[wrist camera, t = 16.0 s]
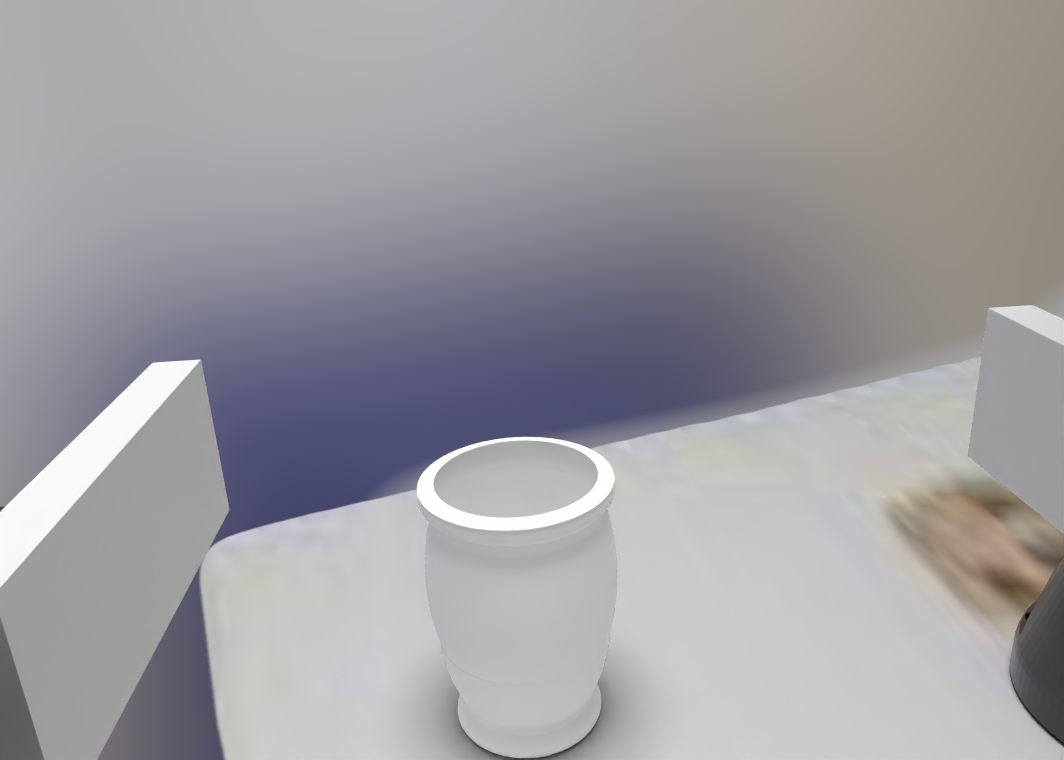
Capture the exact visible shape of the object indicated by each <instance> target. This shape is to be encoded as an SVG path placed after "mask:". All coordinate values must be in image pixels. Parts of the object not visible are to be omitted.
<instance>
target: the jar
mask: <svg viewBox="0 0 1064 760" xmlns="http://www.w3.org/2000/svg"><path fill="white" fill-rule="evenodd" d="M614 492H615V481H614V472H613V469H612V467H611V465H610V464H609V463H608V461H607V460H606V459H605V458H603V457H602V456H601V455H600V454H598V453H596V452H595V451H593V450H591V449H589V448H587V447H584V446H582V445H579V444H576V443H572V442H568V441H564V440H558V439H550V438H540V437H515V438H504V439H496V440H490V441H485V442H481V443H476V444H473V445H469V446H466V447H463V448H461V449H458V450H455V451H453V452H451V453H449V454H447V455H445V456H443V457H442V458H440V459H438V460H437V461H435V462H434V463H433V464H431V465H430V466H429V467H428V468H427V469H426V470H425V471H424V473H423V474H422V475H421V477H420V479H419V481H418V485H417V495H418V503H419V507H420V510H421V512H422V514H423V515H424V517H425V518H426V520H427V521H428V522H429V523H428V528H427V535H426V547H425V577H426V588H427V596H428V602H429V607H430V612H431V616H432V620H433V623H434V626H435V629H436V632H437V635H438V638H439V640H440V644H441V649H442V653H443V657H444V661H445V664H446V667H447V670H448V672H449V675H450V677H451V679H452V681H453V683H454V685H455V687H456V688H457V690H458V692H459V693H460V695H459V699H458V717H459V721H460V723H461V726H462V728H463V729H464V731H465V732H466V734H467V735H468V736H469V737H470V738H471V739H472V740H473V741H474V742H475V743H476V744H478V745H479V746H481V747H483V748H484V749H486V750H488V751H490V752H493V753H496V754H499V755H502V756H507V757H513V758H536V757H543V756H548V755H551V754H555V753H558V752H561V751H563V750H565V749H567V748H569V747H571V746H573V745H574V744H576V743H577V742H579V741H580V740H581V739H583V738H584V737H585V736H586V735H587V734H588V733H589V732H590V730H591V729H592V728H593V726H594V725H595V723H596V721H597V719H598V717H599V714H600V710H601V693H600V689H599V686H598V684H597V682H598V680H599V678H600V676H601V673H602V670H603V668H604V664H605V661H606V657H607V652H608V646H609V639H610V631H611V627H612V622H613V616H614V610H615V603H616V593H617V558H616V548H615V541H614V535H613V529H612V524H611V520H610V516H609V513H608V510H607V508H608V507H609V505H610V504H611V502H612V499H613V496H614Z"/></svg>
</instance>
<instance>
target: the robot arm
mask: <svg viewBox="0 0 1064 760" xmlns="http://www.w3.org/2000/svg"><path fill="white" fill-rule="evenodd" d="M968 456H969V457H970V458H971V459H972V460H973V461H975V462H976V463H977V464H978V465H980V466H981V467H982V468H983V469H984V470H986V471H987V472H988V473H989V474H991V475H992V476H993V477H994V478H996V479H997V480H998V481H999V482H1000V483H1002V484H1003V485H1004V486H1005V487H1007V488H1008V489H1009V490H1010V491H1011V492H1013V493H1014V494H1015V495H1016V496H1018V497H1019V498H1020V499H1021V500H1023V501H1024V502H1025V503H1026V504H1027V505H1029V506H1030V507H1031V508H1032V509H1034V510H1035V511H1036V512H1037V513H1038V514H1040V515H1041V516H1042V517H1043V518H1045V519H1046V520H1047V521H1048V522H1050V523H1051V524H1052V525H1053V526H1054V527H1056V528H1057V529H1058V530H1059V531H1061V532H1062V533H1063V534H1064V319H1062V318H1059V317H1057V316H1055V315H1053V314H1051V313H1048V312H1046V311H1044V310H1042V309H1039V308H1037V307H1035V306H1033V305H1029V306H1014V307H999V308H988V314H987V321H986V329H985V336H984V343H983V350H982V358H981V365H980V372H979V379H978V386H977V394H976V401H975V408H974V415H973V423H972V430H971V437H970V444H969V451H968ZM228 511H229V505H228V500H227V495H226V489H225V484H224V479H223V474H222V468H221V463H220V458H219V453H218V447H217V442H216V437H215V431H214V426H213V421H212V416H211V410H210V405H209V400H208V395H207V389H206V385H205V379H204V374H203V368H202V363H201V360H191V361H175V362H159V363H152V364H151V365H150V366H149V367H148V368H147V369H146V370H145V372H143V373H142V374H141V375H140V376H139V377H138V378H137V379H136V380H135V381H134V382H133V383H132V384H131V385H130V386H129V387H128V388H127V389H126V390H125V391H124V392H123V393H122V394H121V395H120V396H119V397H118V398H116V399H115V400H114V401H113V402H112V403H111V404H110V405H109V406H108V407H107V408H106V409H105V410H104V411H103V412H102V413H101V414H100V415H99V416H98V417H97V418H96V419H95V420H94V421H93V422H92V423H91V424H90V425H89V426H88V427H87V428H86V429H85V430H84V431H83V432H82V433H81V434H80V435H78V436H77V437H76V438H75V439H74V440H73V441H72V442H71V443H70V444H69V445H68V446H67V447H66V448H65V449H64V450H63V451H62V452H61V453H60V454H59V455H58V456H57V457H56V458H55V459H54V460H53V461H52V462H51V463H50V464H49V465H48V466H47V467H46V468H45V469H44V470H43V471H42V472H41V473H39V474H38V475H37V476H36V477H35V478H34V479H33V481H31V482H30V483H29V484H28V485H27V486H26V487H25V488H24V489H23V490H22V491H21V492H20V493H19V494H18V495H17V496H16V497H15V498H14V499H13V500H12V501H11V502H10V503H9V504H8V505H7V506H6V507H0V760H97V759H98V757H99V755H100V753H101V751H102V749H103V747H104V746H105V744H106V742H107V740H108V738H109V736H110V734H111V732H112V730H113V729H114V727H115V725H116V723H117V720H118V719H119V717H120V715H121V713H122V711H123V710H124V708H125V706H126V704H127V702H128V700H129V698H130V696H131V694H132V693H133V691H134V689H135V687H136V685H137V683H138V681H139V679H140V678H141V676H142V674H143V672H144V670H145V668H146V666H147V664H148V662H149V661H150V659H151V657H152V655H153V653H154V651H155V649H156V647H157V645H158V644H159V642H160V640H161V638H162V636H163V634H164V632H165V630H166V629H167V626H168V625H169V623H170V621H171V619H172V617H173V615H174V613H175V612H176V610H177V608H178V606H179V604H180V602H181V600H182V598H183V596H184V595H185V593H186V591H187V589H188V587H189V585H190V583H191V581H192V579H193V578H194V576H195V574H196V572H197V570H198V568H199V566H200V564H201V562H202V561H203V559H204V557H205V555H206V553H207V551H208V549H209V547H210V545H211V544H212V542H213V540H214V538H215V536H216V534H217V532H218V530H219V528H220V527H221V524H222V523H223V521H224V519H225V517H226V515H227V513H228ZM1010 674H1011V679H1012V682H1013V685H1014V687H1015V689H1016V691H1017V693H1018V695H1019V697H1020V699H1021V700H1022V702H1023V703H1024V705H1025V706H1026V707H1027V708H1028V710H1029V711H1030V712H1031V713H1032V715H1033V716H1034V717H1035V718H1036V719H1037V720H1038V721H1039V722H1040V723H1041V724H1042V725H1043V726H1044V727H1045V728H1046V729H1047V730H1048V731H1050V732H1051V733H1052V734H1053V735H1054V736H1055V737H1057V738H1058V739H1059V740H1060V741H1062V742H1063V743H1064V556H1063V558H1062V559H1061V561H1060V562H1059V564H1058V566H1057V567H1056V569H1055V570H1054V572H1053V574H1052V575H1051V577H1050V579H1049V581H1048V583H1047V585H1046V586H1045V588H1044V590H1043V591H1042V593H1041V595H1040V597H1039V598H1038V600H1037V601H1036V602H1035V603H1034V604H1032V605H1031V606H1030V607H1029V608H1028V609H1027V611H1026V612H1025V613H1024V615H1023V616H1022V618H1021V619H1020V621H1019V624H1018V626H1017V629H1016V631H1015V636H1014V642H1013V648H1012V653H1011V659H1010Z"/></svg>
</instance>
